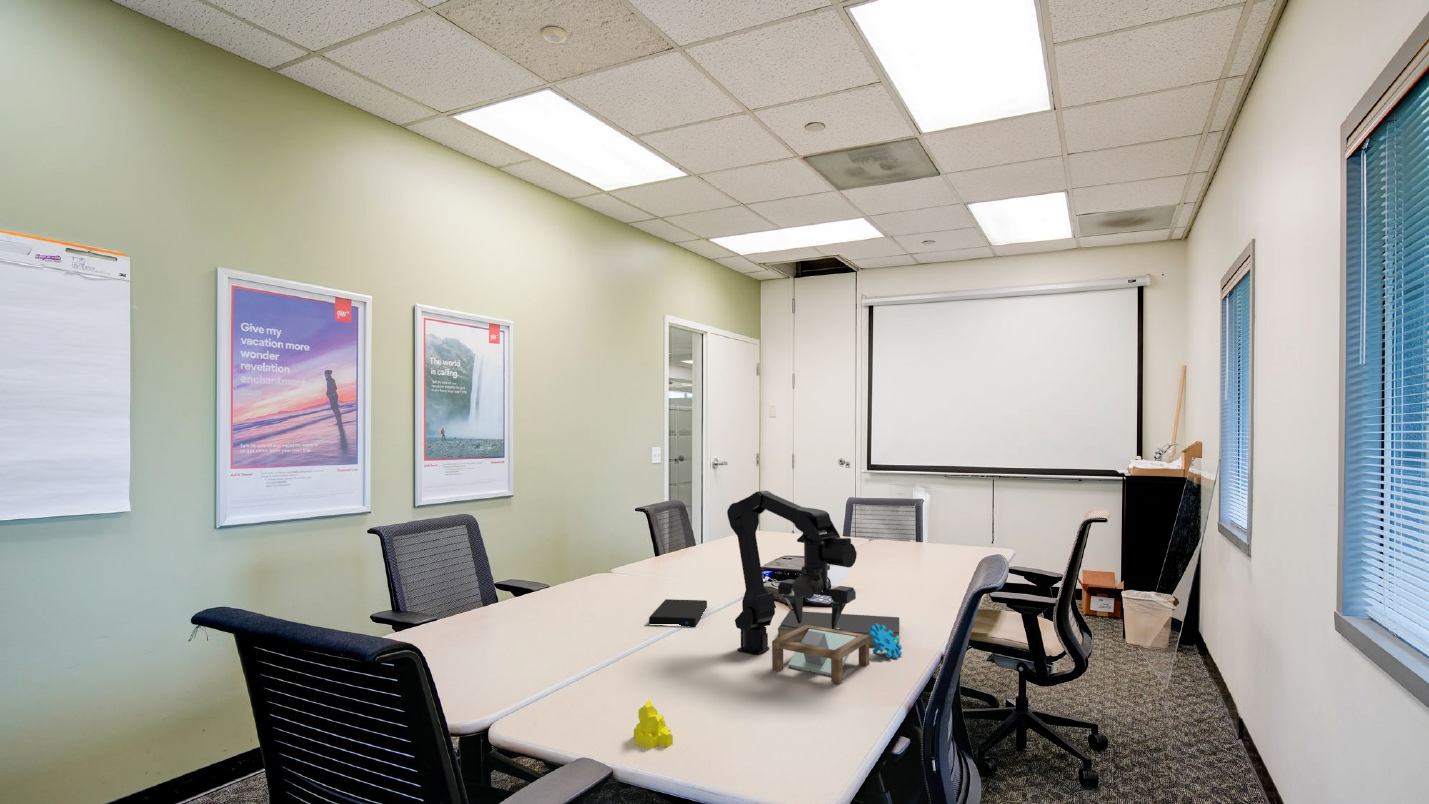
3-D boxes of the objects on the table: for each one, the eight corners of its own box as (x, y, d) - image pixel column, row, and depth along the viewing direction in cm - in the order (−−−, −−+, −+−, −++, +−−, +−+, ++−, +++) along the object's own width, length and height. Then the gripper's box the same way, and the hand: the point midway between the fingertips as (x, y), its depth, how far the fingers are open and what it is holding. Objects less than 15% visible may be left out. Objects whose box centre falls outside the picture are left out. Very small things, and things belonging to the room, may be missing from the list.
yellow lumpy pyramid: (660, 752, 127) (660, 708, 128) (626, 742, 132) (626, 700, 132) (679, 740, 132) (679, 698, 133) (645, 731, 137) (645, 690, 137)
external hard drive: (707, 609, 233) (706, 600, 233) (695, 628, 210) (695, 618, 210) (665, 608, 235) (665, 599, 235) (649, 626, 212) (649, 616, 212)
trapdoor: (810, 631, 183) (809, 628, 183) (856, 639, 176) (855, 636, 176) (789, 667, 174) (788, 664, 173) (837, 677, 166) (836, 674, 166)
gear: (886, 657, 176) (866, 622, 183) (872, 670, 179) (852, 635, 185) (912, 654, 183) (892, 621, 190) (898, 667, 186) (878, 633, 192)
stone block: (806, 662, 172) (800, 643, 170) (813, 649, 176) (808, 630, 174) (822, 665, 170) (817, 646, 168) (829, 652, 173) (824, 633, 171)
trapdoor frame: (772, 669, 172) (772, 640, 172) (806, 651, 186) (805, 624, 187) (839, 684, 162) (838, 653, 162) (869, 663, 176) (869, 635, 176)
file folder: (777, 627, 197) (790, 608, 220) (777, 642, 197) (790, 621, 220) (899, 635, 188) (899, 614, 212) (899, 651, 188) (899, 628, 212)
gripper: (766, 563, 172) (766, 627, 171) (836, 571, 161) (837, 640, 160) (788, 556, 181) (789, 617, 180) (856, 564, 170) (857, 629, 170)
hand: (816, 626), depth 172 cm, fingers open, 9 cm apart
